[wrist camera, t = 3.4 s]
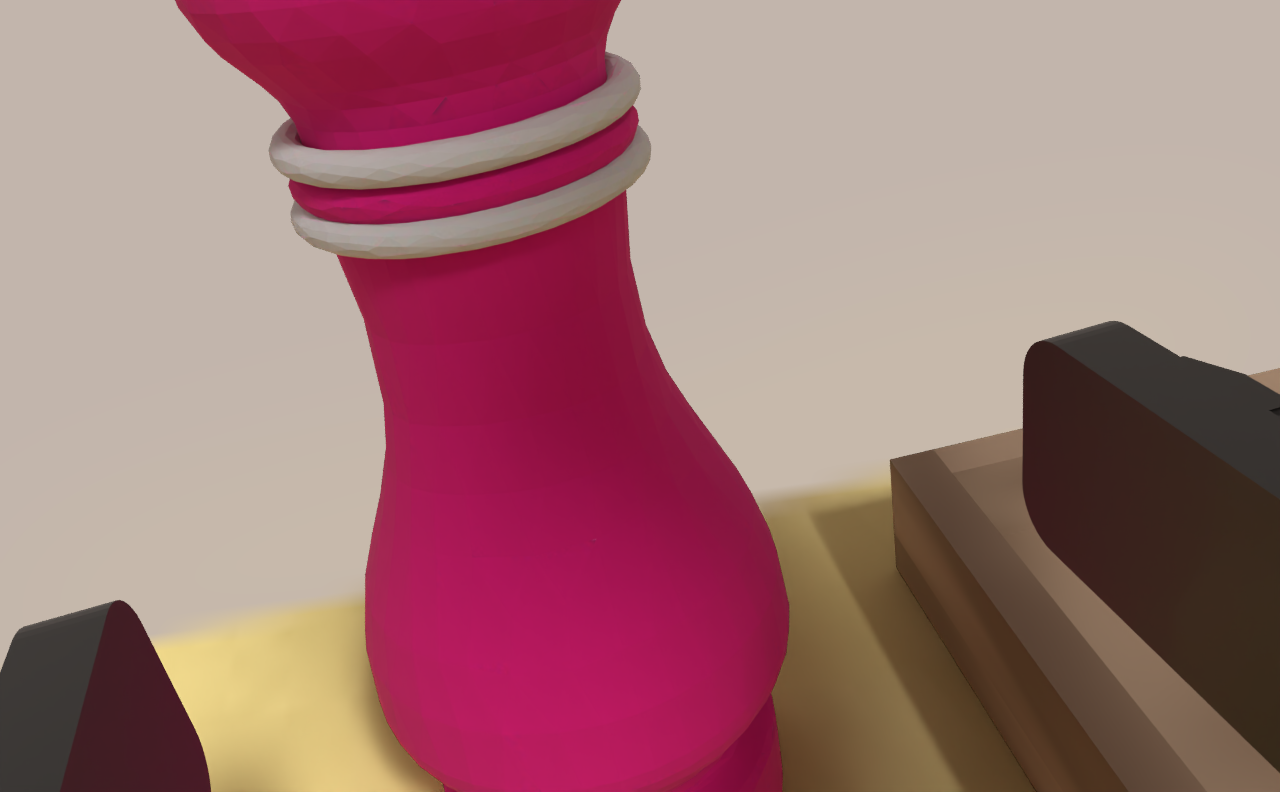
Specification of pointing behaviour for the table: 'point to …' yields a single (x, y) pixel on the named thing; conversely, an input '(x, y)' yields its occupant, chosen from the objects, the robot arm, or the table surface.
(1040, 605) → the tray
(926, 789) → the table surface
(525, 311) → the pepper mill
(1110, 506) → the robot arm
